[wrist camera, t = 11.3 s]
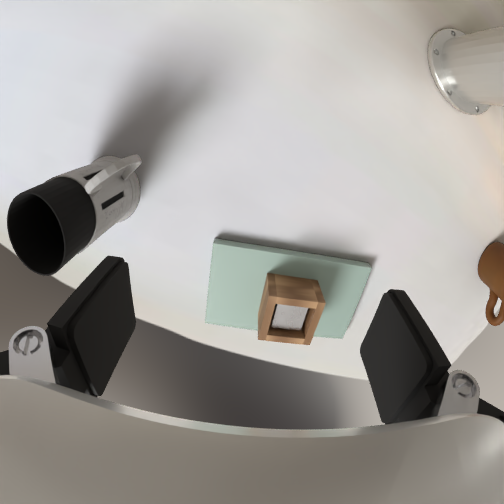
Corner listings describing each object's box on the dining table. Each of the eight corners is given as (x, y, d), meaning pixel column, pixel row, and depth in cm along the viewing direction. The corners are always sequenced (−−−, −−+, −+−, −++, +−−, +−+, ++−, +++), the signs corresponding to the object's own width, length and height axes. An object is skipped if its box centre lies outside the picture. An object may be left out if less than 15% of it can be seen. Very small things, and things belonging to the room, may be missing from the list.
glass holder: (72, 180, 31) (-8, 219, 17) (153, 115, 28) (79, 115, 14) (104, 234, 34) (39, 295, 20) (190, 179, 31) (141, 222, 17)
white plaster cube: (303, 288, 35) (308, 306, 32) (296, 310, 37) (300, 330, 33) (275, 284, 35) (277, 303, 31) (270, 307, 36) (271, 327, 33)
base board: (367, 262, 35) (371, 268, 34) (340, 332, 40) (342, 338, 39) (214, 238, 34) (213, 243, 33) (206, 316, 39) (205, 322, 38)
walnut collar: (317, 280, 35) (325, 303, 30) (304, 319, 37) (309, 344, 33) (267, 272, 34) (268, 295, 30) (257, 314, 37) (258, 339, 32)
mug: (479, 303, 39) (506, 333, 30) (458, 297, 38) (486, 330, 29) (508, 246, 34) (540, 271, 25) (488, 235, 33) (524, 261, 25)
